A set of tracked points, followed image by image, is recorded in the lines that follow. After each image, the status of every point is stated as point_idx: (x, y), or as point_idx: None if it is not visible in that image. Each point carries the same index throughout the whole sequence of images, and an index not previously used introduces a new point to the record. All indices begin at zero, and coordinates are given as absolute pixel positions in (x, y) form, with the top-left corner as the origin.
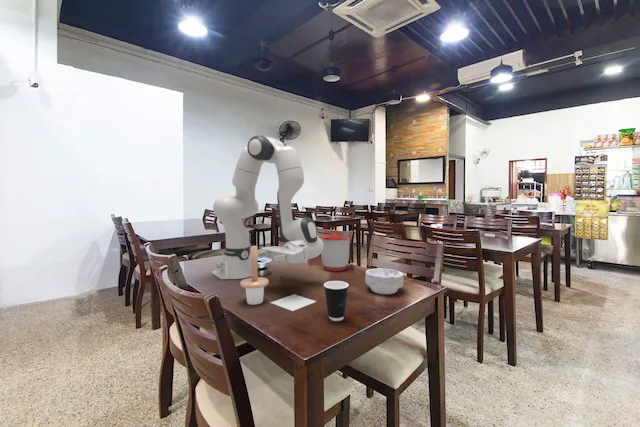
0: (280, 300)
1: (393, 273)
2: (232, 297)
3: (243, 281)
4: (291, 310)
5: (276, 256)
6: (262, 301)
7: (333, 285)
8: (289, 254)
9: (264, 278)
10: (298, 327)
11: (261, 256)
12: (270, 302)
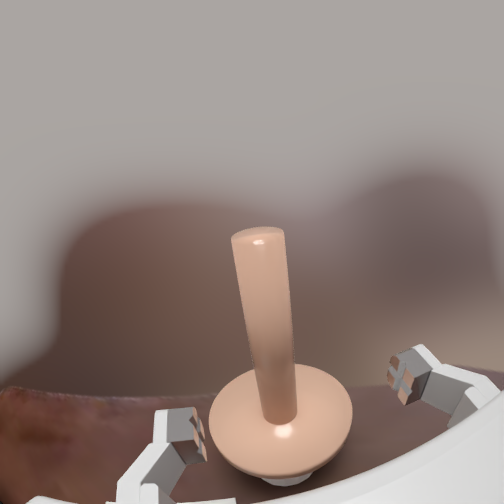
0: None
1: None
2: (386, 405)
3: (301, 374)
4: (111, 502)
5: (154, 421)
6: (262, 478)
7: None
8: (64, 502)
9: (293, 461)
10: (45, 445)
11: (400, 387)
12: (234, 498)
